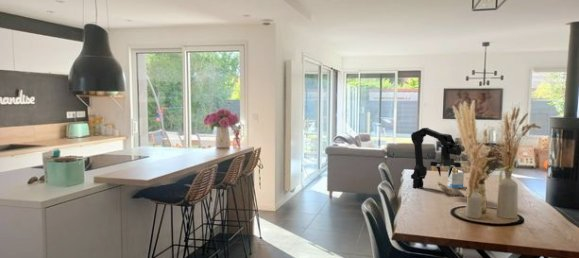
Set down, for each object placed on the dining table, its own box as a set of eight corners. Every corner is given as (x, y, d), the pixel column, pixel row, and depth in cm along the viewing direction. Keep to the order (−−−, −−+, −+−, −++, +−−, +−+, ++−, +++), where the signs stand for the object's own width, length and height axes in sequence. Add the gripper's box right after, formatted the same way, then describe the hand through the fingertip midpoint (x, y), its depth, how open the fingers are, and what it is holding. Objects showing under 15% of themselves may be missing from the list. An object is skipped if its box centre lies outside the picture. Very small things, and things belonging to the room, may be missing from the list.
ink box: (463, 188, 288) (464, 169, 287) (451, 188, 288) (452, 169, 287) (458, 185, 297) (459, 167, 295) (447, 185, 297) (448, 167, 296)
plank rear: (438, 185, 277) (439, 183, 277) (437, 182, 284) (438, 181, 283) (450, 192, 276) (451, 190, 275) (448, 189, 282) (449, 188, 282)
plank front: (440, 188, 267) (441, 186, 266) (439, 186, 273) (440, 184, 273) (453, 195, 265) (454, 194, 265) (451, 193, 272) (452, 191, 272)
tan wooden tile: (454, 196, 265) (454, 194, 265) (449, 189, 283) (449, 188, 283) (463, 196, 264) (463, 195, 264) (458, 190, 282) (458, 188, 281)
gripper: (432, 154, 261) (431, 178, 262) (463, 155, 257) (461, 180, 258) (430, 152, 272) (429, 175, 273) (459, 153, 268) (458, 176, 269)
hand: (444, 176), depth 268 cm, fingers open, 5 cm apart
